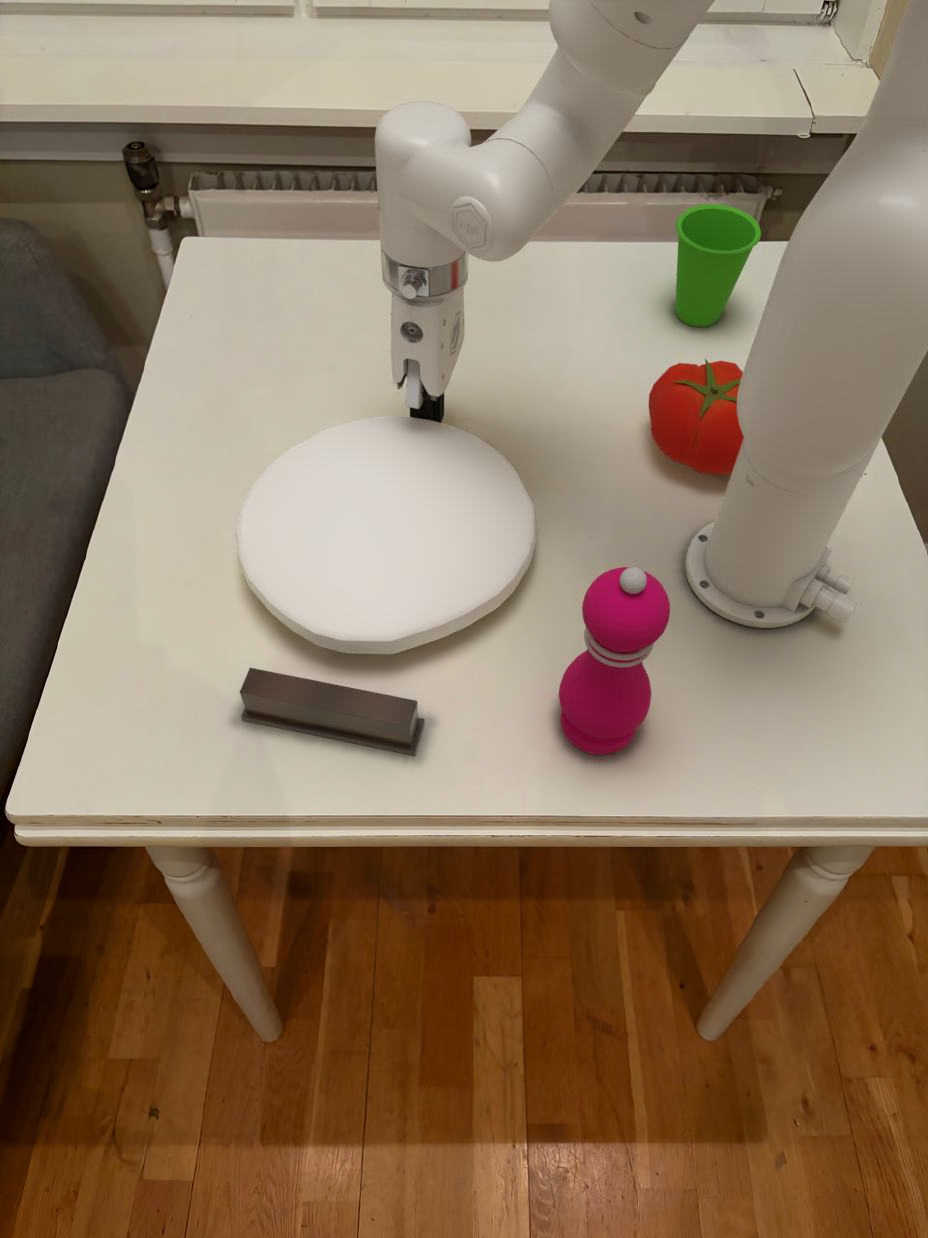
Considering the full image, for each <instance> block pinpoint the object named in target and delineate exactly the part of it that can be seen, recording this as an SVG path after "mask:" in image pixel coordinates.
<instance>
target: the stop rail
mask: <svg viewBox="0 0 928 1238" xmlns="http://www.w3.org/2000/svg"><path fill="white" fill-rule="evenodd" d="M239 694H240V697H241V700H242V703H243V705H244V708H243V711H242V713H241V715H240V717H241V720H242V721H246V722H249V723H250V722H251V723H254V724H255V723H256V724H259V725H264V726H270V727H275V728H279V729H285V730H290V731H293V732H299V733H303V734H307V735H313V736H318V737H323V738H329V739H333V740H338V741H343V742H347V743H352V744H357V745H362V746H367V747H371V748H377V749H382V750H387V751H392V752H396V753H399V754H400V753H401V754H404V755H405V754H406V755H410V756H416V754H417V751H418V748H419V744H420V741H421V737H422V735H423V730H424V727H425V721H426V720H425V718H424V717H419V707H418V705H419V704H418V700H415V699H410V698H405V697H399V696H396V695H390V694H385V693H380V692H375V691H369V690H366V689H360V688H356V687H355V688H354V687H351V686H345V685H339V684H334V683H331V682H330V683H329V682H324V681H320V680H319V681H318V680H315V679H310V678H309V679H308V678H305V677H299V676H294V675H289V674H285V673H279V672H274V671H270V670H264V669H260V668H259V669H258V668H254V667H249V669H248V671H247V673H246V675H245V678H244V681H243V683H242V686H241V688H240V690H239Z"/></svg>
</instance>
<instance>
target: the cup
mask: <svg viewBox="0 0 928 1238" xmlns="http://www.w3.org/2000/svg"><path fill="white" fill-rule="evenodd" d="M675 229H676V230H675V231H676V232H677V235H678V237H677V238H678V239H677V259H676V282H675V283H676V284H675V304H674V306H675V307H674V308H675V313H676V316H677V318H678V319H679V320H680V321H681V322H682V323H684V324H686V325H688V326H691V327H694V328H695V327H696V328H706V327H710V326H712V325H714V324H715V323H716V322H717V321H718V320H719V319H720V318H721V316H722V314H723V311H724V310H725V307H726V306H727V303H728V301H729V299H730V297H731V295H732V293H733V290H734V288H735V286H736V285H737V282H738V280H739V278H740V275H741V274H742V271H743V270H744V267H745V265H746V263H747V261H748V259H749V257H750V255H751V252H752V251H753V249H754V248H755V246H757V244H758V243H759V242H760V241H761V236H762V231H761V227H760V224H759V222H758V221H757V220H756V219H755V218H754V217H753V216H752V215H751V214H749V213H747V212H745V211H744V210H742V209H739V208H736V207H734V206H729V205H725V204H716V203H712V204H711V203H710V204H708V203H707V204H700V205H696V206H692V207H690V208H687V209H686V210H685V211H683V212H682V213H680V216H679V217H678V218H677V220H676V223H675Z"/></svg>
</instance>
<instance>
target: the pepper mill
mask: <svg viewBox="0 0 928 1238" xmlns="http://www.w3.org/2000/svg"><path fill="white" fill-rule="evenodd" d="M581 608H582V610H581V613H582V619H583V622H584V623H583V624H584V625H585V628H584V633H583V640H584V643H585V647H586V648H587V649H586V650H585V651H584V652H581V654H579V655H577V656H576V657H575V658H574V659H573V660H572V661H571V663H570V664H569V665H568V666H567V668H566V669H565V671H564V672H563V675H562V677H561V680H560V683H559V687H558V700H559V706H560V709H561V712H560V727H561V729H562V732H563V735H564V736H565V738H566V739H567V740H568V741H569V742H570V743H571V744H572V745H573V746H574V747H576V748H577V749H579V750H581V751H583V752H585V753H588V754H592V755H597V756H598V755H600V756H604V755H611V754H614V753H615V754H616V753H618V752H620V751H621V750H623V749H624V748H625V747H626V746H628V745H629V743H630V742H631V741H632V739H633V738H634V736H635V733H636V731H637V728H639V727H640V725H641V724H642V723H643V722H644V721H645V719H646V717H647V716H648V714H649V710H650V707H651V701H652V687H651V680H650V676H649V675H648V671H647V670H646V668H645V666H644V663H643V662H644V661H645V660H647V658H649V656H650V655H651V653H652V651H653V648H654V644H655V643H656V642H657V641H658V640H659V639H660V638H661V637H662V636H663V635H664V633H665V631H666V629H667V627H668V624H669V621H670V614H671V603H670V598H669V594H668V593H667V590H666V589H665V587H664V585H663V584H662V583H661V582H660V581H659V580H658V579H657V578H656V577H655V576H654V575H652V574H651V573H650V572H647V571H645V570H642V569H641V568H639V567H636V566H632V567H631V566H621V567H615V568H611V569H609V570H606V571H604V572H603V573H600V575H598V576H597V577H595V579H594V580H593V581H592V582H591V584H590V585H589V587H588V588H587V589H586V592H585V594H584V597H583V602H582V606H581Z"/></svg>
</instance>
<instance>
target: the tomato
mask: <svg viewBox="0 0 928 1238" xmlns="http://www.w3.org/2000/svg"><path fill="white" fill-rule="evenodd" d="M704 362H705V363H703V364H700V365H698V364H697V363H684V362H679V363H676V364H673V365H671V366H669V367H668V369H666V370H665V371H664V373H663V374H662V375H660V377H658V378H657V380H656V381H655V382H654V383H653V384H652V387H651V390H650V392H649V394H648V413H649V421H650V422H649V423H650V434H651V437H652V440H653V441H654V443H655V444H656V446H657V448H658V449H659V450H660V451H661V452H662V453H663V454H664V455H666V456H667V457H668V458H669V459H670V460H672V461H673V462H675V463H679V464H681V465H684V466H687V467H688V468H690V469H692V470H693V471H696V472H698V473H701V474H705V475H710V476H711V475H712V476H719V475H731V474H732V471H733V468H734V465H735V462H736V459H737V456H738V453H739V450H740V447H741V444H742V441H743V438H744V436H743V434H742V431H741V428H740V425H739V421H738V415H737V395H738V389H739V385H740V381H741V377H742V374H743V371H742V369H741V368H740V367H739V366H738V364H737V363H735V362H730V361H724V360H718V361H712V362H709V361H708V360H707V358H705V359H704Z"/></svg>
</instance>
